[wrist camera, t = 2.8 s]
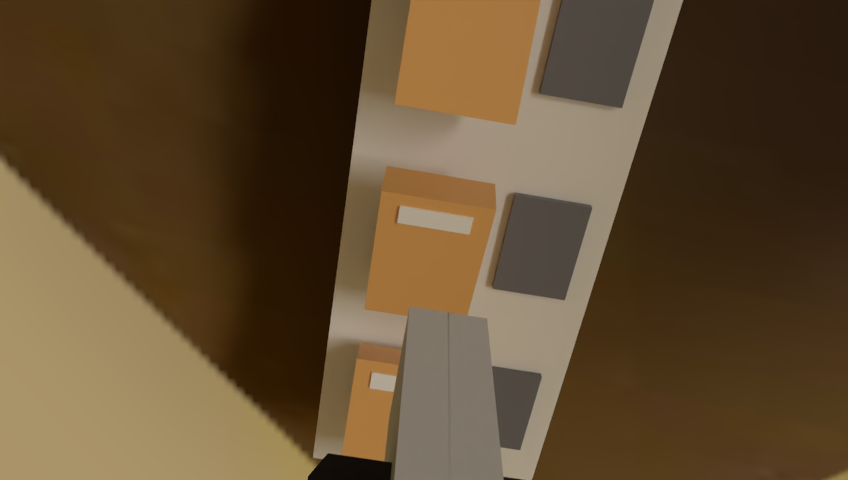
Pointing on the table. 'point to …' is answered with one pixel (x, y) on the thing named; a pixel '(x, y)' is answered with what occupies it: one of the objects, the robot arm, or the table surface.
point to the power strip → (506, 199)
